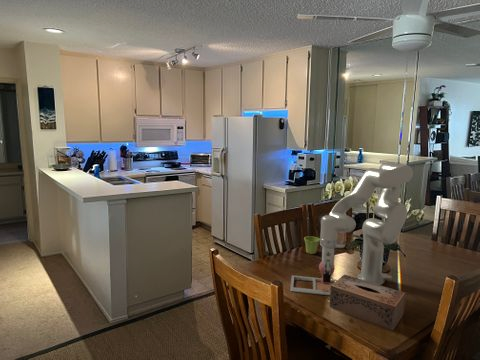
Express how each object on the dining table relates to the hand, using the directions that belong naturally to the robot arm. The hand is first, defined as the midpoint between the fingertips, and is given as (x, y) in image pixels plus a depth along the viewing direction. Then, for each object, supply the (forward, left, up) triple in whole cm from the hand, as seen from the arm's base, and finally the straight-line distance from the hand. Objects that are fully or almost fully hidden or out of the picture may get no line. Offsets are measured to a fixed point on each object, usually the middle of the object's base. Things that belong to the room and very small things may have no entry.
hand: (326, 278), depth 162 cm
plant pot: (+6, -46, -5) cm, 47 cm away
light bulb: (0, 0, -3) cm, 3 cm away
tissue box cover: (-15, +17, -6) cm, 24 cm away
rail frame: (+5, 0, -5) cm, 7 cm away
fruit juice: (-11, -62, -5) cm, 63 cm away
